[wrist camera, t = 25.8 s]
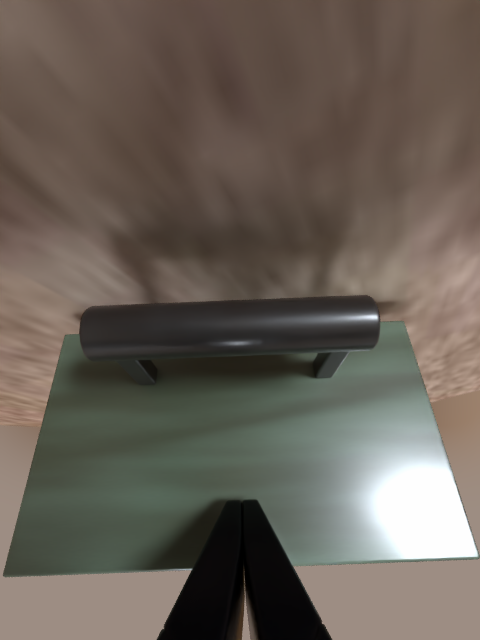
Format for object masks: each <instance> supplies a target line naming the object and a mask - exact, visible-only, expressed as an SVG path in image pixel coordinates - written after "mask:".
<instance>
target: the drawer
mask: <svg viewBox="0 0 480 640" xmlns="http://www.w3.org/2000/svg"><path fill="white" fill-rule="evenodd" d="M245 499H257V500H258V501H259V503H260V505H261V507H262V509H263V511H264V513H265V515H266V516H267V518H268V520H269V522H270V524H271V526H272V528H273V530H274V531H275V533H276V535H277V537H278V539H279V541H280V543H281V545H282V547H283V548H284V550H285V552H286V554H287V556H288V558H289V560H290V562H291V563H292V565H293V566H314V565H341V564H366V563H390V562H392V563H393V562H419V561H446V560H472V559H479V558H480V555H479V553H478V549H477V546H476V543H475V540H474V537H473V534H472V531H471V528H470V525H469V521H468V519H467V515H466V512H465V509H464V506H463V503H462V500H461V497H460V494H459V490H458V487H457V484H456V481H455V478H454V475H453V472H452V469H451V466H450V463H449V460H448V457H447V453H446V450H445V448H444V444H443V441H442V438H441V435H440V432H439V429H438V426H437V423H436V419H435V416H434V413H433V410H432V407H431V404H430V401H429V398H428V395H427V391H426V388H425V385H424V382H423V379H422V376H421V373H420V370H419V367H418V364H417V360H416V357H415V354H414V351H413V348H412V345H411V342H410V339H409V336H408V333H407V330H406V326H405V323H404V321H390V322H380V315H379V311H378V307H377V304H376V302H375V301H374V299H373V298H372V297H370V296H368V295H354V296H329V297H305V298H280V299H256V300H231V301H207V302H182V303H158V304H133V305H109V306H92V307H90V308H88V309H87V310H86V311H85V312H84V314H83V316H82V318H81V322H80V331H79V334H69V335H65V337H64V341H63V345H62V348H61V352H60V356H59V360H58V364H57V368H56V372H55V375H54V379H53V383H52V387H51V391H50V395H49V399H48V402H47V406H46V410H45V414H44V418H43V422H42V426H41V430H40V434H39V438H38V441H37V445H36V449H35V453H34V457H33V461H32V464H31V468H30V472H29V476H28V480H27V484H26V488H25V491H24V495H23V499H22V503H21V507H20V511H19V515H18V519H17V523H16V526H15V531H14V534H13V538H12V542H11V546H10V549H9V553H8V557H7V561H6V565H5V569H4V573H3V576H4V577H23V576H48V575H49V576H50V575H75V574H76V575H78V574H102V573H103V574H104V573H129V572H157V571H183V570H192V569H193V567H194V565H195V563H196V561H197V559H198V557H199V555H200V553H201V551H202V549H203V547H204V545H205V543H206V541H207V539H208V537H209V535H210V533H211V531H212V529H213V527H214V525H215V523H216V521H217V519H218V517H219V515H220V513H221V511H222V509H223V507H224V505H225V503H226V502H227V501H228V500H241V501H242V502H243V500H245Z"/></svg>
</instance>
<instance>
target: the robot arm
mask: <svg viewBox="0 0 480 640" xmlns="http://www.w3.org/2000/svg"><path fill="white" fill-rule="evenodd" d="M244 573H245V583H244ZM245 592H246V606H247V614H248V622H249V631H250V639H251V640H332V638H331V636H330V635H329V633H328V631H327V629H326V627H325V625H324V624H322V620H321V618H320V616H319V614H318V612H317V611H316V609H315V607H314V605H313V603H312V601H311V599H310V597H309V595H308V594H307V592H306V590H305V588H304V586H303V584H302V582H301V580H300V579H299V577H298V575H297V573H296V571H295V569H294V567H293V565H292V563H291V562H290V560H289V558H288V556H287V554H286V552H285V550H284V548H283V547H282V545H281V543H280V541H279V539H278V537H277V535H276V533H275V531H274V530H273V528H272V526H271V524H270V522H269V520H268V518H267V516H266V515H265V513H264V511H263V509H262V507H261V505H260V503H259V501H258V500H257V499H245V500H243V502H242V501H241V500H228V501H227V502H226V503H225V505H224V507H223V509H222V511H221V513H220V515H219V517H218V519H217V521H216V523H215V525H214V527H213V529H212V531H211V533H210V535H209V537H208V539H207V541H206V543H205V545H204V547H203V549H202V551H201V553H200V555H199V557H198V559H197V561H196V563H195V565H194V567H193V569H192V571H191V573H190V575H189V577H188V579H187V581H186V583H185V585H184V587H183V589H182V591H181V593H180V595H179V597H178V599H177V601H176V603H175V605H174V607H173V608H172V611H171V612H170V615H169V617H168V618H167V620H166V622H165V624H164V629H162V630H161V632H160V634H159V636H158V638H157V640H242V628H243V616H244V598H245V595H244V594H245Z"/></svg>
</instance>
